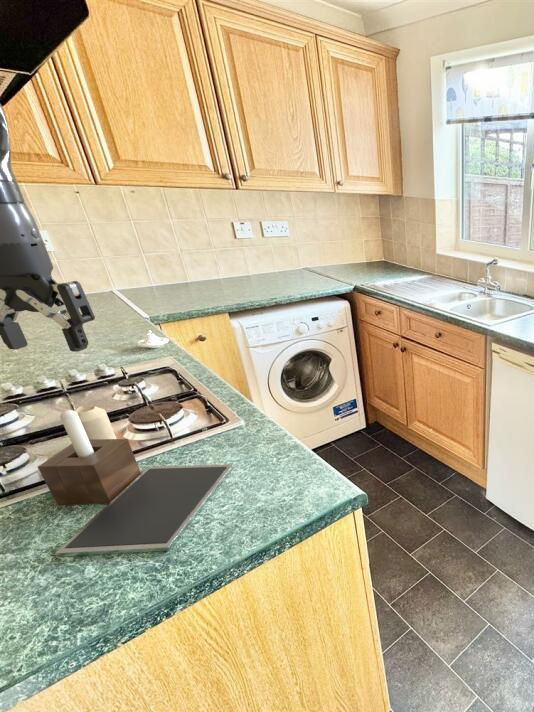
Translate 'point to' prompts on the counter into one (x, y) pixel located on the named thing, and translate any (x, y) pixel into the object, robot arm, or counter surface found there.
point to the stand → (90, 473)
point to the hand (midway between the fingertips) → (49, 348)
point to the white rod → (76, 433)
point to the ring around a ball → (152, 341)
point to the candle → (95, 422)
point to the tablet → (149, 511)
